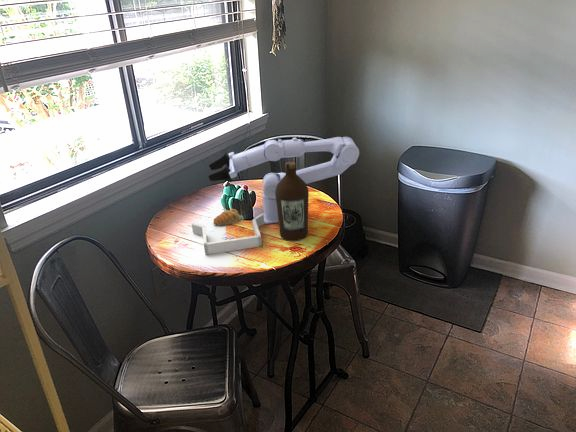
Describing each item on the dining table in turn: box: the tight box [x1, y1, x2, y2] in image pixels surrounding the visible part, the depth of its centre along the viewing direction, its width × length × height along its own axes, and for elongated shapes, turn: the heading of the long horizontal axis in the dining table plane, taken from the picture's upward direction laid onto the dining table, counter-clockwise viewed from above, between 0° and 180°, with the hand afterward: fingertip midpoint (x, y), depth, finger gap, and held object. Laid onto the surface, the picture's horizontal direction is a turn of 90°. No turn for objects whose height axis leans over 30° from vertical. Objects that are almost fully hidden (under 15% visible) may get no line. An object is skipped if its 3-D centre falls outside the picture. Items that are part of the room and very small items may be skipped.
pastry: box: [213, 208, 241, 227], centre depth 166 cm, size 9×7×4 cm
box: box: [191, 213, 265, 256], centre depth 155 cm, size 25×16×4 cm, turn 102°
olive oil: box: [275, 161, 310, 242], centre depth 150 cm, size 11×11×25 cm
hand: (209, 172), depth 158 cm, fingers open, 7 cm apart
